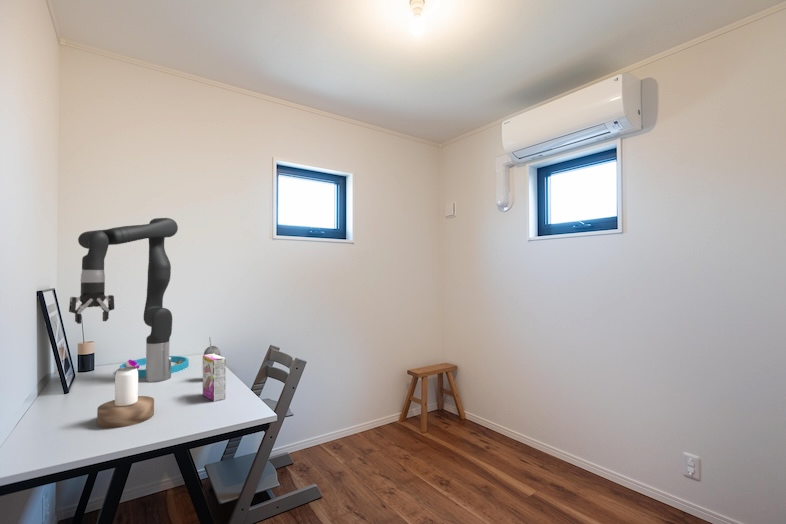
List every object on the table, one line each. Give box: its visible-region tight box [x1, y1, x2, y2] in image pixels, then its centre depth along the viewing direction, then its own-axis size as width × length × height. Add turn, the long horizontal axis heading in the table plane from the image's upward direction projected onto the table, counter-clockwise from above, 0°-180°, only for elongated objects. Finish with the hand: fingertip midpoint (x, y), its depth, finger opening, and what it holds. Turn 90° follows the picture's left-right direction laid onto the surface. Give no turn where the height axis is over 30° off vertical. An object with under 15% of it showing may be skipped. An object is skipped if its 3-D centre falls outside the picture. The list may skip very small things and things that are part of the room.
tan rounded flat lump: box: [96, 395, 155, 429], centre depth 132 cm, size 16×16×5 cm
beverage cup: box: [203, 336, 221, 356], centre depth 178 cm, size 7×7×20 cm
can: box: [114, 367, 139, 407], centre depth 132 cm, size 6×6×12 cm
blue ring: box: [119, 355, 190, 378], centre depth 197 cm, size 30×30×6 cm
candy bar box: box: [202, 354, 226, 402], centre depth 154 cm, size 11×5×16 cm, turn 47°
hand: (92, 322), depth 153 cm, fingers open, 8 cm apart
